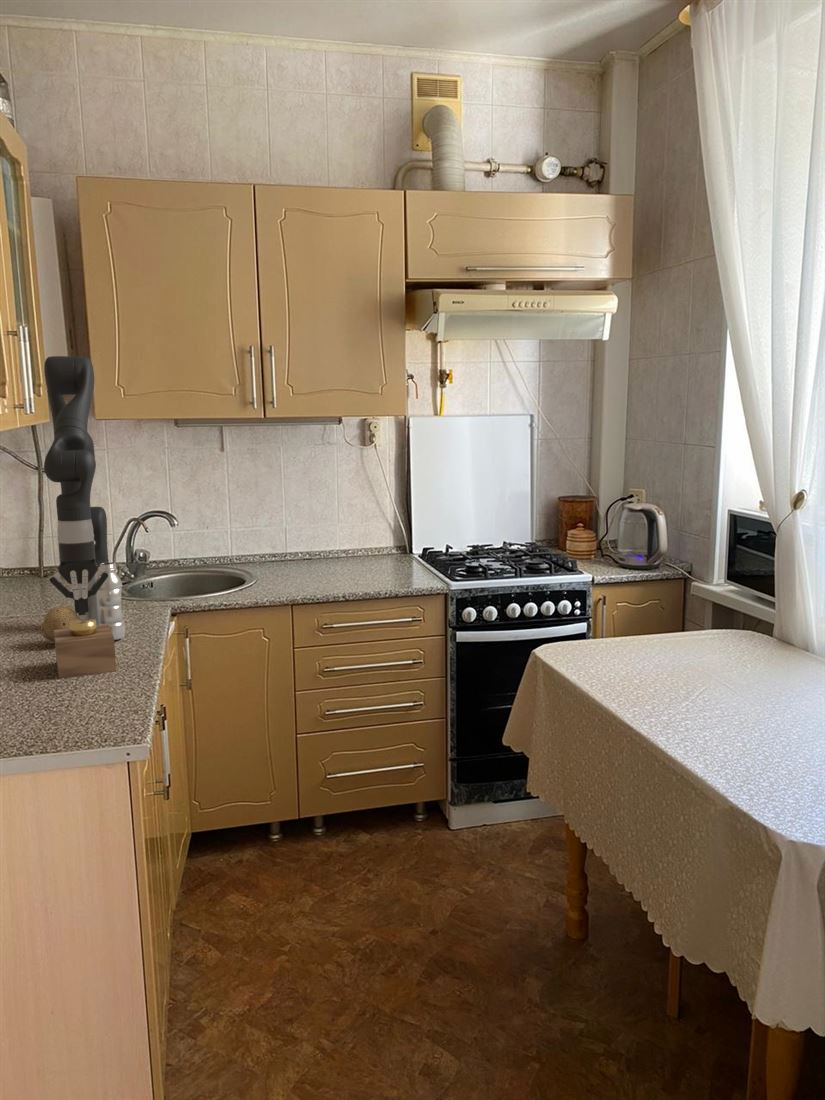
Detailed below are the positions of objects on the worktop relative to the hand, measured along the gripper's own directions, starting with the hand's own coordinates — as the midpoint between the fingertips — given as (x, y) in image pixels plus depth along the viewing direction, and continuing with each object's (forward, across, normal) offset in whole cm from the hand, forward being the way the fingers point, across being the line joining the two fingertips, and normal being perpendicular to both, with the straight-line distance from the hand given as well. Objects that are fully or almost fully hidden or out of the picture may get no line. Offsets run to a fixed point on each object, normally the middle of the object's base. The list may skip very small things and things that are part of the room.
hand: (81, 614), depth 190 cm
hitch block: (+12, 0, 0) cm, 12 cm away
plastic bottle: (+13, -8, -23) cm, 27 cm away
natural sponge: (+13, +4, -24) cm, 27 cm away
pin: (+11, 0, 0) cm, 11 cm away
